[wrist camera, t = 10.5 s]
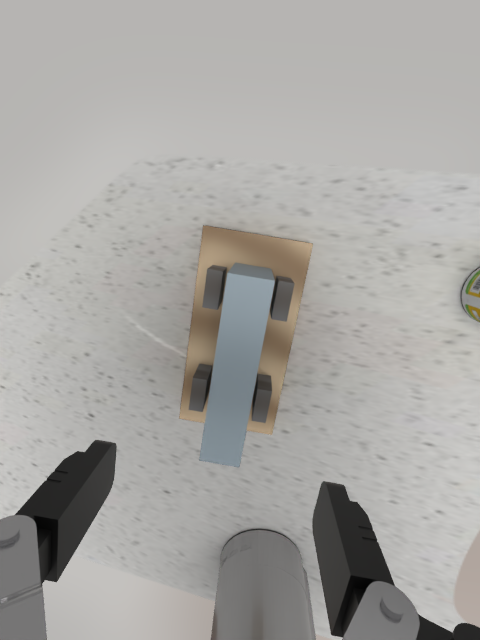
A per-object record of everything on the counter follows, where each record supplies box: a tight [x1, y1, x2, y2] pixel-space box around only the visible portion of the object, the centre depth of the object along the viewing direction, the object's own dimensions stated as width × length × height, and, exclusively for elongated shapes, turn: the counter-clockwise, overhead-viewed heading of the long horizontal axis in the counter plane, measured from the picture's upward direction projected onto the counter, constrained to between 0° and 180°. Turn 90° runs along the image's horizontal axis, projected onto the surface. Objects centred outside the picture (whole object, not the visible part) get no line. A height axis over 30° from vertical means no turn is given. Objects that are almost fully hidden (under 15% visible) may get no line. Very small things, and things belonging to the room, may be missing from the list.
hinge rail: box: [179, 226, 313, 435], centre depth 28 cm, size 18×9×4 cm, turn 171°
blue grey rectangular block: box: [199, 262, 275, 467], centre depth 26 cm, size 14×3×7 cm, turn 171°
